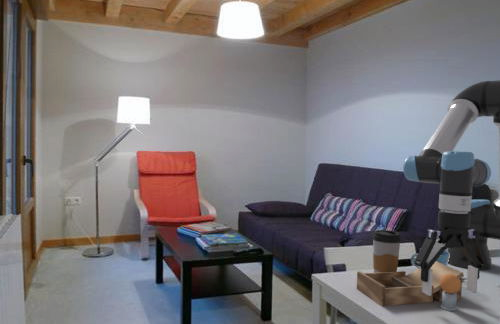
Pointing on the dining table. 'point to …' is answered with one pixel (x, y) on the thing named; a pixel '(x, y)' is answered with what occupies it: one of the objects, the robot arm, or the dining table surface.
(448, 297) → the tee
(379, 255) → the coffee cup
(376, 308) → the dining table surface
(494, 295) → the dining table surface
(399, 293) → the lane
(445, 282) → the ball
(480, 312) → the dining table surface
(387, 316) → the dining table surface
